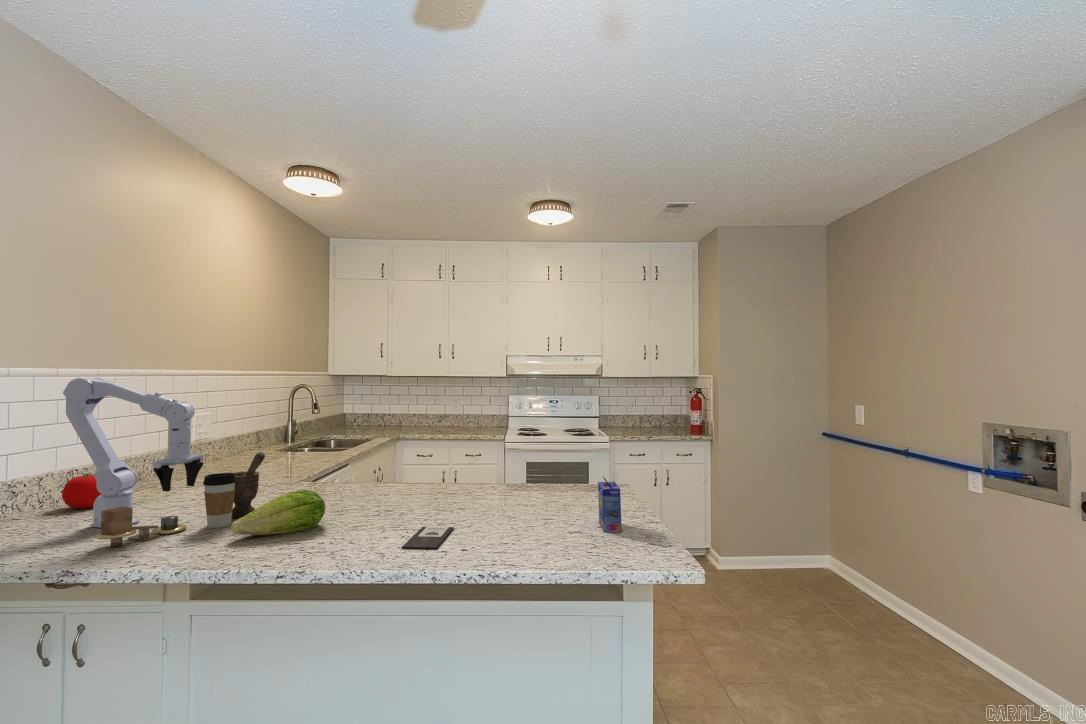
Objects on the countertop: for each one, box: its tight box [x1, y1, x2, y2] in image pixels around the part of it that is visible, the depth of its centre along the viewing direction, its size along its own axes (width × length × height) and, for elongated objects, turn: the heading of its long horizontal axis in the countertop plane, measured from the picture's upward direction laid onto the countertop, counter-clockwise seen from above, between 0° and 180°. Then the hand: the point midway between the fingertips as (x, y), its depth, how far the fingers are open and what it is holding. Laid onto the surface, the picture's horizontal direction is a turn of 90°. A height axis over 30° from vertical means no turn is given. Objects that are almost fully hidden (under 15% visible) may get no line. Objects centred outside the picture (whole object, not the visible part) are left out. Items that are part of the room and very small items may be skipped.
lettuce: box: [230, 489, 326, 536], centre depth 150 cm, size 12×24×13 cm
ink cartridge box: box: [597, 476, 623, 533], centre depth 154 cm, size 10×6×14 cm, turn 2°
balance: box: [95, 515, 187, 549], centre depth 144 cm, size 8×22×4 cm, turn 162°
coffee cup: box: [202, 472, 236, 529], centre depth 157 cm, size 8×8×15 cm
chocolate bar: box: [401, 526, 455, 551], centre depth 144 cm, size 9×1×18 cm
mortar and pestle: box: [232, 451, 266, 519], centre depth 168 cm, size 12×9×20 cm
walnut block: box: [100, 507, 133, 536], centre depth 137 cm, size 4×4×6 cm
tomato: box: [61, 473, 102, 510], centre depth 179 cm, size 12×13×11 cm
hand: (178, 488), depth 161 cm, fingers open, 7 cm apart
